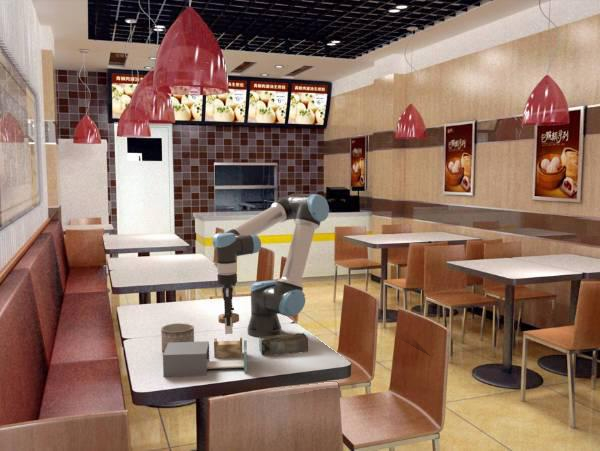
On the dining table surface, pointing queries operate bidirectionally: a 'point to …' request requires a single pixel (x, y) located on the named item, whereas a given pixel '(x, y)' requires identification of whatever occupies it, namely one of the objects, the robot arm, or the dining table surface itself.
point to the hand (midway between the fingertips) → (229, 330)
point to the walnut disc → (234, 318)
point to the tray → (230, 362)
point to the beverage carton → (283, 344)
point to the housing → (185, 359)
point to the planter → (176, 334)
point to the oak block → (227, 348)
